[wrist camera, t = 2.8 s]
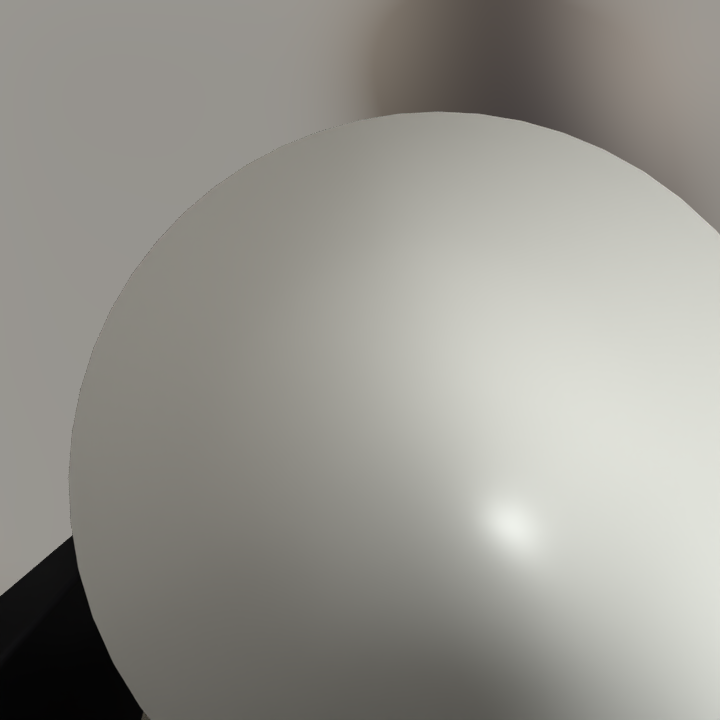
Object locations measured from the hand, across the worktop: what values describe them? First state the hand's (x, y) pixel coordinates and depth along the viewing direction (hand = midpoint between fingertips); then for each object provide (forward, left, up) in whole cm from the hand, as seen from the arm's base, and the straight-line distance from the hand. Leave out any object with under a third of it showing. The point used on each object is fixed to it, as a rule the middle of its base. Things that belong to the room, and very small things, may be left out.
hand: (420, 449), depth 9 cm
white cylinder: (0, 0, -8) cm, 8 cm away
